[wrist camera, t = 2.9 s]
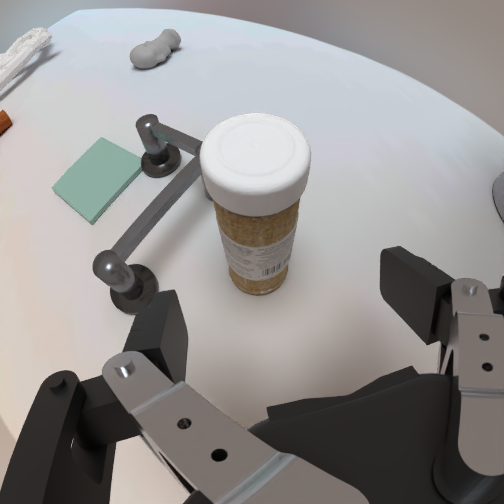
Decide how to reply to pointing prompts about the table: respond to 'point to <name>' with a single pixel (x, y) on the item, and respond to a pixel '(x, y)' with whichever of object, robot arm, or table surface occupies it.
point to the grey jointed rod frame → (148, 213)
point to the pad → (98, 178)
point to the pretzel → (22, 53)
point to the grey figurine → (155, 49)
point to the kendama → (4, 121)
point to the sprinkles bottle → (256, 194)
